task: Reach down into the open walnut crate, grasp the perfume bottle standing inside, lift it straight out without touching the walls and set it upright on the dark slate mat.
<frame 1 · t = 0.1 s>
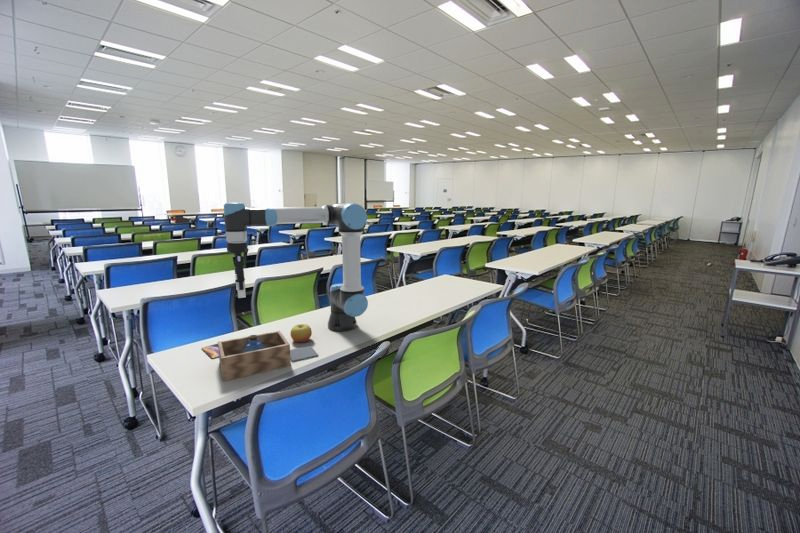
hand: (240, 293, 140), 28 cm above the table, fingers open, 13 cm apart
apple: (301, 340, 163), on the table
crate: (255, 363, 139), on the table
slate mat: (301, 354, 149), on the table
perfume bottle: (255, 364, 139), resting in crate
smartphone: (215, 352, 151), on the table
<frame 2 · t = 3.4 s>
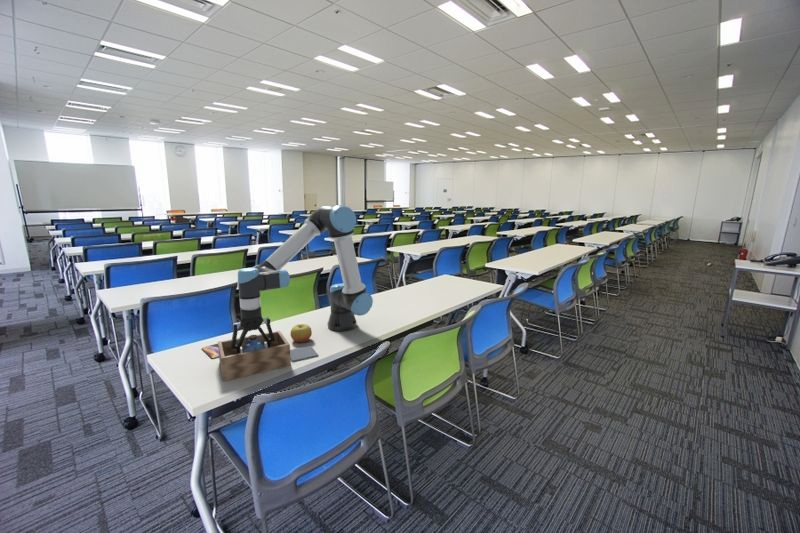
hand: (254, 360, 139), 1 cm above the table, fingers closed on perfume bottle, 9 cm apart
perfume bottle: (255, 364, 139), resting in crate, touching gripper
everything else where it was.
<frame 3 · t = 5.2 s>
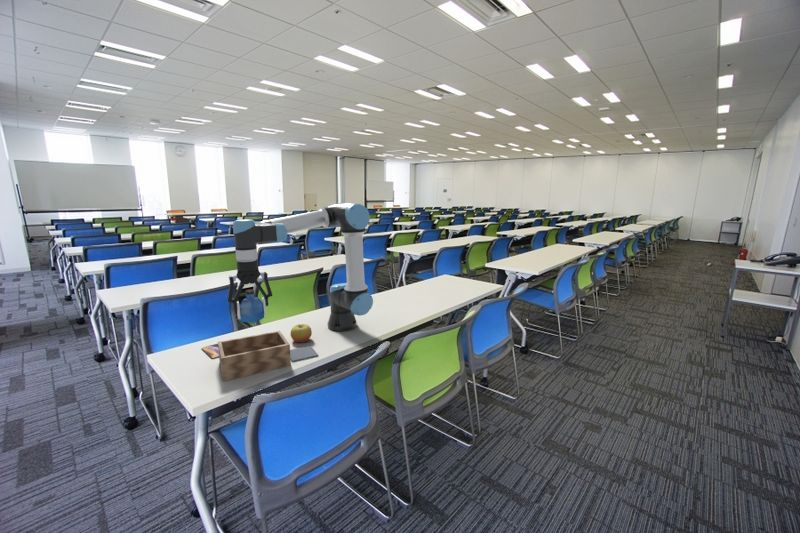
hand: (252, 316, 136), 20 cm above the table, fingers closed on perfume bottle, 9 cm apart
perfume bottle: (252, 320, 136), point 19 cm above the table, touching gripper
everything else where it was.
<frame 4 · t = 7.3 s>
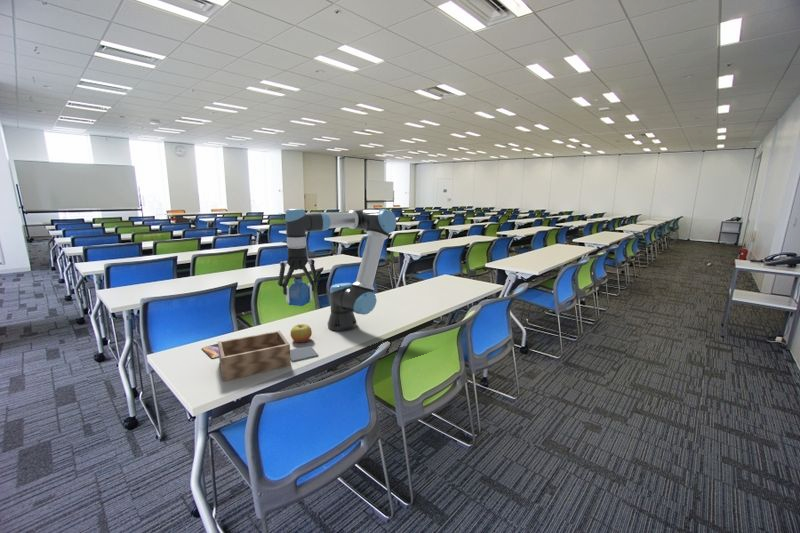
hand: (299, 300, 144), 24 cm above the table, fingers closed on perfume bottle, 9 cm apart
perfume bottle: (299, 304, 144), point 23 cm above the table, touching gripper
everything else where it was.
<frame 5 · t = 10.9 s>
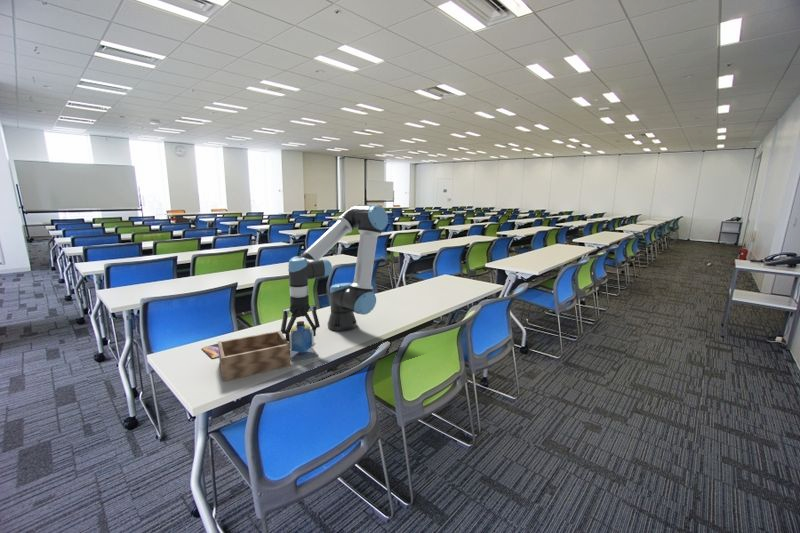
hand: (301, 345, 148), 4 cm above the table, fingers closed on perfume bottle, 9 cm apart
perfume bottle: (301, 349, 148), point 2 cm above the table, touching gripper
everything else where it was.
when the fingers open (4 cm above the table, at t = 11.5 s): perfume bottle drops 2 cm, resting on slate mat.
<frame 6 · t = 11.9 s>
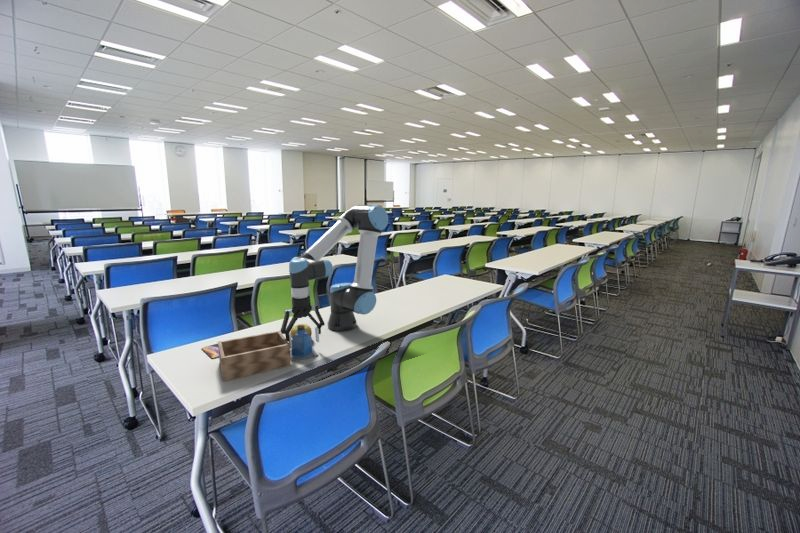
hand: (304, 344, 148), 4 cm above the table, fingers open, 11 cm apart
perfume bottle: (302, 353, 148), resting on slate mat, touching gripper
everything else where it was.
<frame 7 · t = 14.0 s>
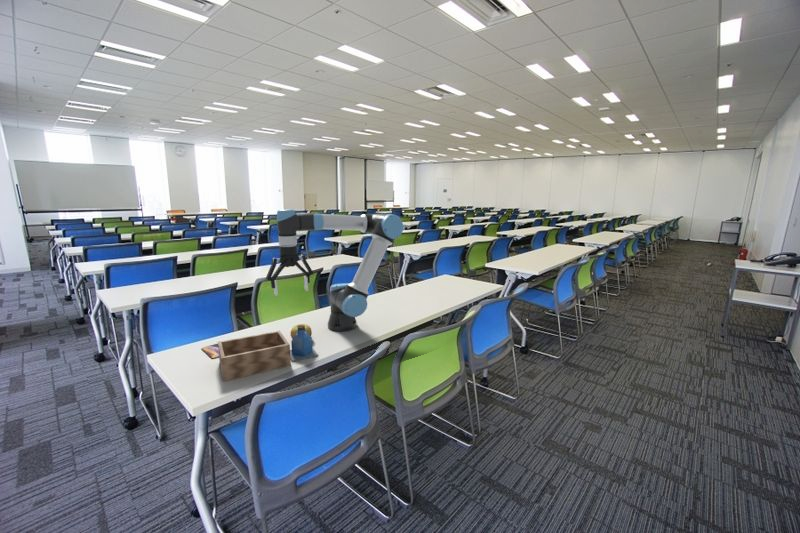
hand: (291, 292, 152), 25 cm above the table, fingers open, 13 cm apart
perfume bottle: (302, 353, 148), resting on slate mat
everything else where it was.
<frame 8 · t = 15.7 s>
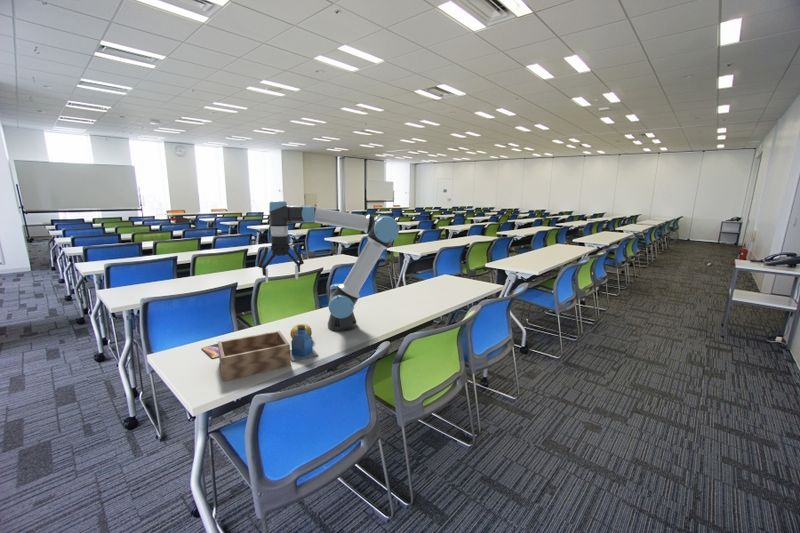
hand: (282, 280, 160), 29 cm above the table, fingers open, 13 cm apart
nothing on the table moved.
at the end: perfume bottle 0.2 cm from the slate mat (horizontally); perfume bottle resting on slate mat; perfume bottle tilted 0° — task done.
